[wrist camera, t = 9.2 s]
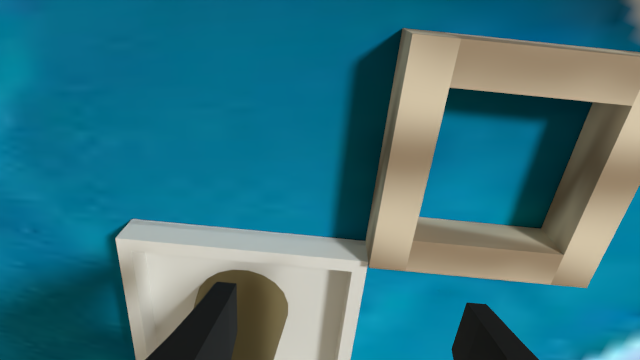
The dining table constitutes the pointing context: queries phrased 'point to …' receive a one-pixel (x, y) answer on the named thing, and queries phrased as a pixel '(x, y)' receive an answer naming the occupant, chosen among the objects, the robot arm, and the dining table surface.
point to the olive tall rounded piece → (253, 313)
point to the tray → (243, 254)
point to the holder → (575, 186)
